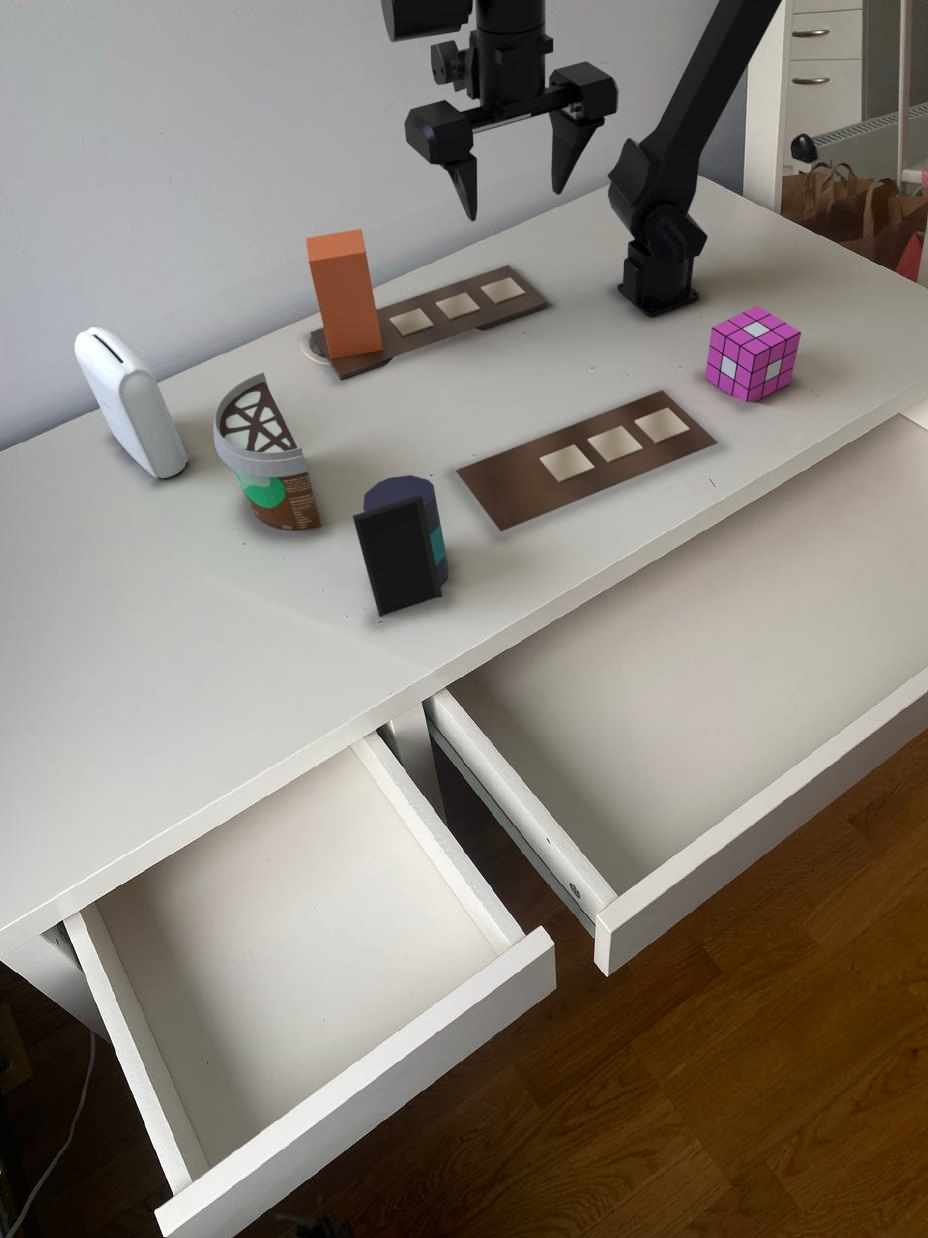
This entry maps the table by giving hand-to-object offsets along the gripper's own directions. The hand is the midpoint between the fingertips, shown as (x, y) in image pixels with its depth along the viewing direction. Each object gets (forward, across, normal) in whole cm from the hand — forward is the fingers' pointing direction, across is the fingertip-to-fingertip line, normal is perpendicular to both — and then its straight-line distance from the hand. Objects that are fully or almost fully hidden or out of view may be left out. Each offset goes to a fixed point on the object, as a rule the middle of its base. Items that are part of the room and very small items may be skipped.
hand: (514, 205), depth 89 cm
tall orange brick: (+13, +16, -6) cm, 21 cm away
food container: (+14, +32, +13) cm, 37 cm away
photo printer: (+14, +40, -1) cm, 42 cm away
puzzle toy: (+13, -14, +20) cm, 28 cm away
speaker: (+14, +25, +27) cm, 39 cm away
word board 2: (+13, +5, +22) cm, 26 cm away
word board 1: (+13, +8, -6) cm, 16 cm away
